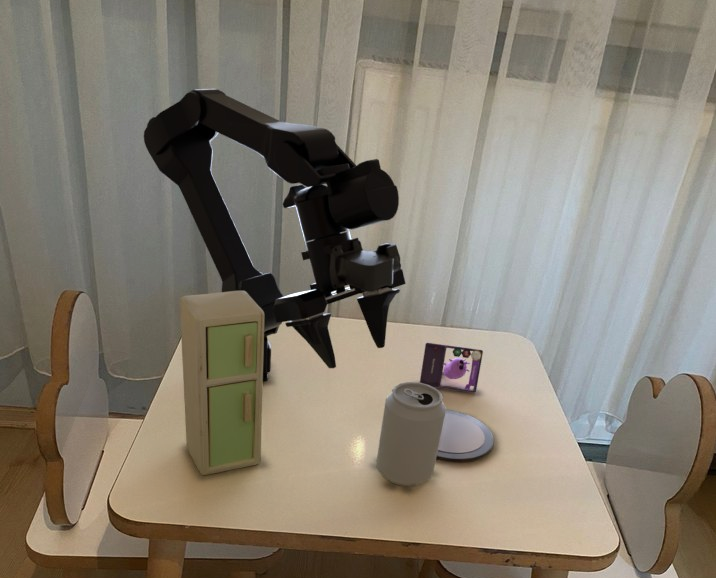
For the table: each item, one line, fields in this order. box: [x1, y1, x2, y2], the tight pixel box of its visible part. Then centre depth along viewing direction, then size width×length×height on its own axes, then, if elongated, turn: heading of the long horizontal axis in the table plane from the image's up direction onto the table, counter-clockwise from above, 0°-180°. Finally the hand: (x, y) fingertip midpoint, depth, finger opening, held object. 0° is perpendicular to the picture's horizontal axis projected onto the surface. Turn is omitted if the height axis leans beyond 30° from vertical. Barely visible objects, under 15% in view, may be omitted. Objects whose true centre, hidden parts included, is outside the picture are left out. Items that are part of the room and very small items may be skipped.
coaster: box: [436, 409, 494, 463], centre depth 101 cm, size 13×13×1 cm
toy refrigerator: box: [179, 291, 264, 476], centre depth 85 cm, size 8×7×21 cm
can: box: [375, 381, 447, 487], centre depth 89 cm, size 8×8×12 cm
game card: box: [419, 342, 484, 393], centre depth 113 cm, size 7×5×9 cm
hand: (357, 357), depth 94 cm, fingers open, 9 cm apart
